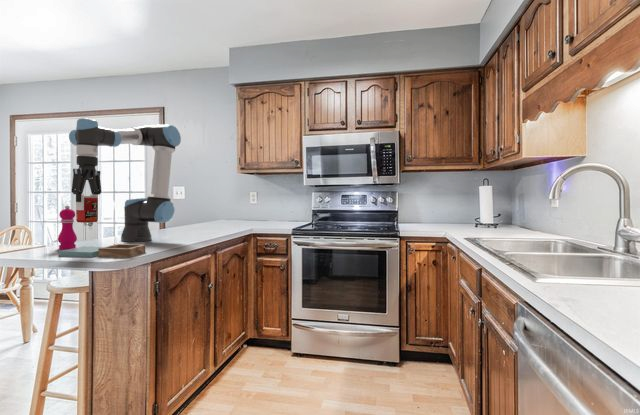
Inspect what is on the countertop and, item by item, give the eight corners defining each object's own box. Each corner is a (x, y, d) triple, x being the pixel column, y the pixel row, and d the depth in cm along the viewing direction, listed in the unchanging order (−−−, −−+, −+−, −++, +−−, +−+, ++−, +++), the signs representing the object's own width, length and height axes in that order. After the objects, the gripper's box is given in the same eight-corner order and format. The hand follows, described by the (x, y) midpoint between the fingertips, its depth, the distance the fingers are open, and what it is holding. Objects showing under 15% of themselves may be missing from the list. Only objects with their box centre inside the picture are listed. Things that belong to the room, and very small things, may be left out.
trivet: (82, 250, 158) (82, 246, 158) (113, 251, 158) (113, 247, 158) (58, 256, 144) (58, 251, 144) (92, 257, 144) (92, 252, 144)
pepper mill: (75, 246, 169) (75, 205, 168) (78, 248, 164) (78, 205, 163) (56, 248, 164) (56, 205, 163) (59, 250, 159) (59, 205, 158)
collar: (117, 251, 158) (117, 243, 158) (145, 252, 158) (145, 244, 158) (98, 256, 145) (98, 248, 145) (128, 257, 145) (128, 249, 145)
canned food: (87, 222, 146) (87, 196, 146) (71, 222, 148) (71, 195, 147) (102, 221, 153) (102, 196, 153) (86, 220, 155) (86, 196, 155)
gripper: (78, 153, 139) (78, 211, 140) (111, 158, 160) (110, 209, 160) (59, 153, 139) (60, 210, 140) (94, 158, 160) (94, 208, 161)
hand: (87, 209), depth 150 cm, fingers closed on canned food, 8 cm apart
